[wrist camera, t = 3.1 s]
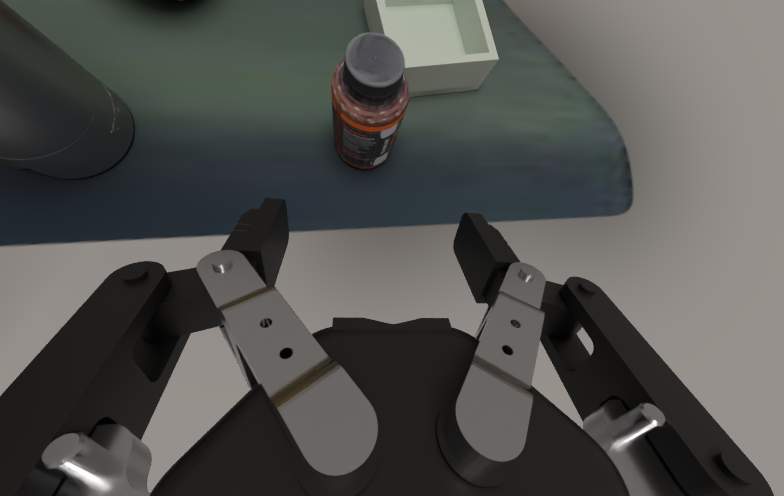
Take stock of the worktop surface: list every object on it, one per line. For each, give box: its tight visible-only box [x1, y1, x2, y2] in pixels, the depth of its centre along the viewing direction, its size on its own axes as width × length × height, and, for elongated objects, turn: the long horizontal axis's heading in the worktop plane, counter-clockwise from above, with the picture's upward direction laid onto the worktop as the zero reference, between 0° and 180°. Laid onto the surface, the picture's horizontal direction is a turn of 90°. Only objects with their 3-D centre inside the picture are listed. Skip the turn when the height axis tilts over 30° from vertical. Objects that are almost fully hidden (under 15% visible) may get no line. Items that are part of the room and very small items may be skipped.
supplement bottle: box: [331, 32, 410, 169], centre depth 24 cm, size 6×6×11 cm
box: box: [364, 0, 499, 97], centre depth 29 cm, size 11×11×4 cm
